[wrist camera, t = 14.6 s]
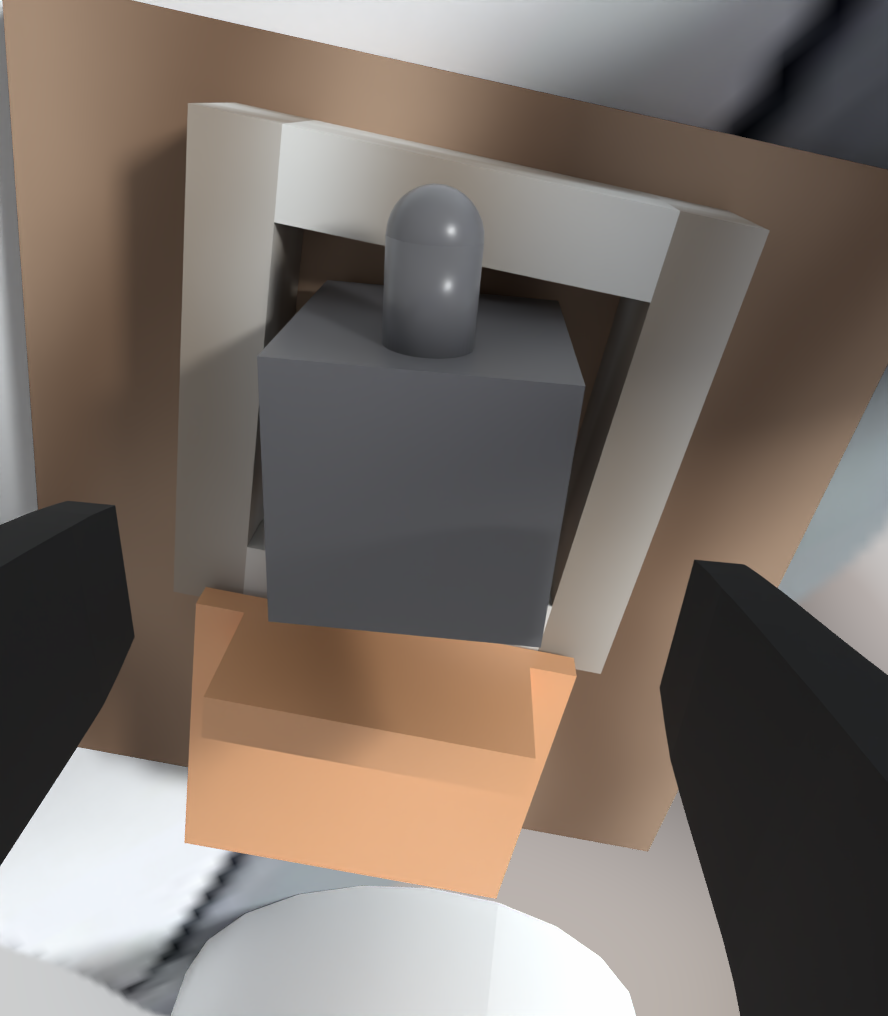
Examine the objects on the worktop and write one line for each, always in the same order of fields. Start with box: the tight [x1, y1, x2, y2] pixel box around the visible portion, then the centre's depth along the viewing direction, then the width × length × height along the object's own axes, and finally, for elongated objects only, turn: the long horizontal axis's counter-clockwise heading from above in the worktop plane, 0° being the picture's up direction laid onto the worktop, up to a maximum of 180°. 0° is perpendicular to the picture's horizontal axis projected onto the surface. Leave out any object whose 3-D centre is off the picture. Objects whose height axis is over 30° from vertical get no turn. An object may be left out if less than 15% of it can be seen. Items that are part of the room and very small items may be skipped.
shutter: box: [185, 587, 577, 898], centre depth 17 cm, size 8×8×3 cm
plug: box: [257, 184, 585, 648], centre depth 13 cm, size 4×7×6 cm
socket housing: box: [2, 0, 888, 851], centre depth 18 cm, size 18×19×4 cm
